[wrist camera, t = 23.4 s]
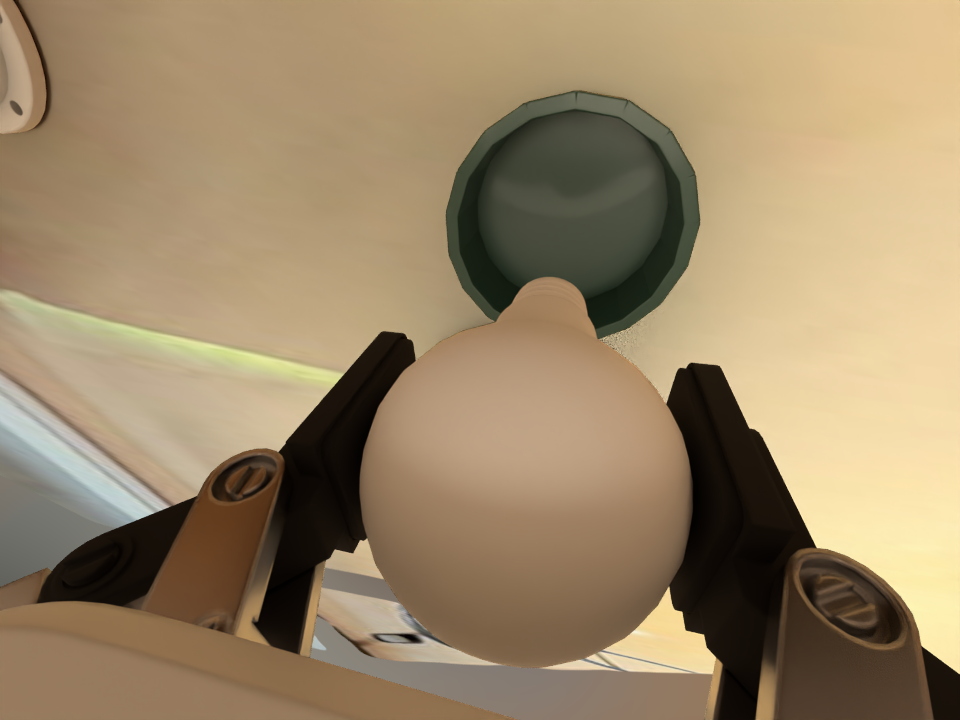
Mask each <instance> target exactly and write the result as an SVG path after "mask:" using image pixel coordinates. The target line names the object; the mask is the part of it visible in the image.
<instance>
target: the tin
mask: <svg viewBox="0 0 960 720" xmlns="http://www.w3.org/2000/svg"><path fill="white" fill-rule="evenodd" d="M446 226H447V240H448V253H449V257H450V259H451V261H452V264H453V266H454V269H455V271H456V273H457V276H458V278H459V281H460V283H461V285H462V288H463V289H464V290H465V292H466V293H467V294H468V295H469V296H470V297H471V298H472V300H473V301H474V302H475V303H476V304H477V305H478V306H479V308H480V309H481V310H482V311H483V312H484V313H485V315H486V316H487V317H489V318H490V319H492V320H494V321H495V322H496V321H497V319H498V317H499V316H500V315H501V313H502V312H503V311H504V310H505V309H506V308H507V307H509V306H510V305H511V304H512V302H513V300H514V298H515V297H516V295H517V294H518V292H519V291H520V290H521V289H522V287H523V286H525V285H526V284H527V283H529V282H531V281H533V280H535V279H538V278H542V277H557V278H560V279H564V280H566V281H568V282H570V283H571V284H573V285H574V286H575V287H576V288H577V289H578V290H579V291H580V292H581V294H582V296H583V298H584V300H585V304H586V309H587V315H588V317H589V318H590V320H591V322H592V324H593V326H594V328H595V332H596V335H597V339H600V338H603V337H605V336H608V335H611V334H614V333H617V332H620V331H622V330H625V329H627V328H629V327H631V326H632V325H633V324H635V323H636V322H637V321H639V320H640V319H642V318H643V317H644V316H646V315H647V314H648V313H650V312H651V311H652V310H654V309H655V308H656V307H658V306H659V305H660V304H661V303H662V302H663V301H664V299H665V298H666V297H667V295H668V294H669V292H670V291H671V290H672V288H673V287H674V285H675V284H676V283H677V281H678V280H679V278H680V277H681V276H682V274H683V273H684V271H685V270H686V268H687V267H688V264H689V260H690V257H691V254H692V250H693V247H694V243H695V240H696V236H697V233H698V229H699V226H700V213H699V203H698V192H697V182H696V175H695V171H694V170H693V168H692V166H691V164H690V163H689V161H688V159H687V157H686V155H685V154H684V152H683V150H682V148H681V147H680V145H679V143H678V141H677V139H676V138H675V136H674V134H673V132H672V131H671V130H670V129H669V128H668V127H667V126H665V125H664V124H662V123H661V122H660V121H658V120H657V119H655V118H654V117H653V116H651V115H650V114H648V113H647V112H645V111H644V110H643V109H641V108H640V107H638V106H637V105H636V104H634V103H633V102H631V101H630V100H627V99H624V98H620V97H614V96H609V95H603V94H598V93H592V92H587V91H581V90H580V91H571V92H567V93H563V94H558V95H554V96H550V97H546V98H541V99H537V100H533V101H529V102H527V103H524V104H522V105H521V106H519V107H518V108H517V109H515V110H514V111H512V112H511V113H510V114H508V115H507V116H505V117H504V118H502V119H501V120H500V121H498V122H497V123H495V124H494V125H492V126H491V127H490V128H488V129H487V130H485V131H484V133H483V134H482V135H481V137H480V138H479V139H478V141H477V142H476V144H475V145H474V147H473V148H472V150H471V151H470V153H469V154H468V155H467V157H466V158H465V160H464V161H463V163H462V164H461V166H460V167H459V169H458V171H457V172H456V176H455V180H454V184H453V187H452V191H451V195H450V199H449V202H448V206H447V210H446Z"/></svg>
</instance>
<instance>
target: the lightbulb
mask: <svg viewBox="0 0 960 720" xmlns="http://www.w3.org/2000/svg"><path fill="white" fill-rule="evenodd" d="M359 494H360V503H361V511H362V520H363V524H364V528H365V531H366V535H367V538H368V541H369V545H370V548H371V551H372V555H373V558H374V561H375V564H376V566H377V568H378V569H379V571H380V573H381V574H382V576H383V578H384V579H385V581H386V582H387V584H388V585H389V587H390V588H391V590H392V591H393V593H394V594H395V596H396V598H397V599H398V601H399V602H400V603H401V604H402V605H403V606H404V608H405V609H406V610H407V611H408V612H409V613H410V614H411V615H412V616H413V617H414V618H415V619H416V620H418V621H419V622H420V623H421V624H422V625H423V626H424V627H425V628H426V629H427V630H428V631H429V632H431V633H432V634H433V635H434V636H435V637H437V638H438V639H440V640H441V641H443V642H444V643H446V644H448V645H450V646H451V647H453V648H455V649H457V650H459V651H462V652H464V653H466V654H468V655H471V656H474V657H477V658H479V659H482V660H486V661H489V662H493V663H497V664H502V665H507V666H514V667H522V668H540V667H548V666H553V665H558V664H562V663H567V662H571V661H576V660H580V659H584V658H587V657H589V656H591V655H593V654H595V653H597V652H599V651H601V650H603V649H605V648H607V647H609V646H611V645H613V644H614V643H616V642H618V641H620V640H622V639H624V638H625V637H627V636H628V635H629V634H630V633H631V632H633V631H634V630H635V629H636V628H637V627H638V626H639V625H640V624H641V623H642V622H643V621H644V620H645V618H646V617H647V616H648V615H649V614H650V613H651V612H652V611H653V610H654V609H655V608H656V607H657V606H658V604H659V602H660V601H661V599H662V597H663V595H664V594H665V592H666V590H667V588H668V587H669V585H670V583H671V582H672V580H673V578H674V576H675V575H676V573H677V571H678V569H679V568H680V566H681V564H682V562H683V559H684V554H685V550H686V546H687V541H688V537H689V532H690V526H691V520H692V514H693V480H692V474H691V469H690V463H689V458H688V454H687V450H686V447H685V443H684V439H683V436H682V433H681V431H680V429H679V427H678V425H677V423H676V421H675V419H674V417H673V415H672V413H671V411H670V409H669V408H668V406H667V405H666V403H665V402H664V400H663V399H662V397H661V396H660V394H659V393H658V391H657V390H656V388H655V387H654V386H653V385H652V384H651V382H650V381H649V380H648V379H647V378H646V377H645V375H644V374H643V373H642V372H641V371H640V370H639V369H638V367H636V366H635V365H634V364H632V363H631V362H630V361H628V360H627V359H626V358H624V357H623V356H622V355H621V354H619V353H618V352H617V351H615V350H614V349H612V348H611V347H609V346H608V345H606V344H605V343H603V342H601V341H600V340H598V339H597V335H596V332H595V328H594V326H593V324H592V322H591V320H590V318H589V317H588V315H587V309H586V304H585V300H584V298H583V296H582V294H581V292H580V291H579V290H578V289H577V288H576V287H575V286H574V285H573V284H571V283H570V282H568V281H566V280H564V279H560V278H557V277H542V278H538V279H535V280H533V281H531V282H529V283H527V284H526V285H525V286H523V287H522V289H521V290H520V291H519V292H518V294H517V295H516V297H515V298H514V300H513V302H512V304H511V305H510V306H509V307H507V308H506V309H505V310H504V311H503V312H502V313H501V315H500V316H499V317H498V319H497V321H496V322H495V323H491V324H487V325H483V326H479V327H475V328H471V329H468V330H464V331H461V332H459V333H457V334H455V335H453V336H451V337H449V338H447V339H445V340H443V341H440V342H439V343H438V344H436V345H435V346H434V347H433V348H431V349H430V350H429V351H428V352H426V353H425V354H424V355H423V356H421V357H420V358H419V359H418V360H416V361H415V362H414V363H413V364H411V365H410V366H409V367H408V368H406V369H405V370H404V371H403V372H402V374H401V375H400V376H399V378H398V379H397V380H396V382H395V383H394V384H393V386H392V387H391V389H390V390H389V392H388V393H387V395H386V396H385V398H384V399H383V401H382V402H381V404H380V405H379V407H378V409H377V412H376V415H375V418H374V421H373V423H372V426H371V429H370V432H369V435H368V438H367V441H366V444H365V446H364V450H363V456H362V463H361V470H360V489H359Z"/></svg>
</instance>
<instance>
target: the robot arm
mask: <svg viewBox="0 0 960 720" xmlns="http://www.w3.org/2000/svg"><path fill="white" fill-rule="evenodd" d="M46 96H47V94H46V84H45V76H44V72H43V68H42V64H41V60H40V56H39V54H38V51H37V49H36V46H35V43H34V41H33V38H32V35H31V33H30V31H29V29H28V27H27V25H26V23H25V21H24V19H23V17H22V15H21V13H20V11H19V9H18V7H17V6H16V4H15V2H14V1H13V0H0V133H4V134H7V133H19V132H25V131H28V130H30V129H33V128H34V127H35V126H36V125H37V124H38V123H39V122H40V121H41V118H42V116H43V114H44V111H45V105H46ZM415 361H416V360H415V353H414V346H413V342H412V340H409V339H407V337H406V335H405V334H404V333H395V332H386V331H383V332H381V333H380V334H379V335H378V336H377V337H376V338H375V339H374V341H373V342H372V343H371V344H370V345H369V346H368V348H367V349H366V350H365V351H364V352H363V353H362V354H361V356H360V357H359V358H358V359H357V360H356V361H355V363H354V364H353V365H352V366H351V367H350V368H349V369H348V371H347V372H346V373H345V374H344V375H343V376H342V377H341V379H340V380H339V381H338V382H337V383H336V384H335V386H334V387H333V388H332V389H331V390H330V391H329V392H328V394H327V395H326V396H325V397H324V398H323V399H322V401H321V402H320V403H319V404H318V405H317V406H316V407H315V409H314V410H313V411H312V412H311V413H310V414H309V416H308V417H307V418H306V419H305V420H304V421H303V422H302V424H301V425H300V426H299V427H298V428H297V429H296V431H295V432H294V433H293V434H292V435H291V436H290V437H289V439H288V440H287V441H286V444H285V445H284V446H283V447H282V449H281V450H280V451H279V452H277V451H275V450H271V449H253V450H249V451H245V452H242V453H240V454H237V455H235V456H233V457H231V458H229V459H228V460H226V461H224V462H223V463H221V464H220V465H219V466H218V467H217V468H216V469H215V470H213V471H212V472H211V473H210V475H209V476H208V478H207V479H206V481H205V482H204V484H203V486H202V488H201V490H200V492H199V494H198V496H196V497H194V498H191V499H189V500H186V501H184V502H181V503H179V504H176V505H174V506H171V507H169V508H166V509H164V510H161V511H159V512H156V513H154V514H151V515H149V516H146V517H144V518H141V519H139V520H136V521H134V522H131V523H129V524H126V525H124V526H121V527H119V528H116V529H114V530H111V531H109V532H106V533H104V534H102V535H100V536H97V537H95V538H93V539H92V540H89V541H87V542H86V543H84V544H83V545H81V546H80V547H78V548H77V549H75V550H74V551H73V552H71V553H70V554H69V555H68V556H66V557H65V558H64V559H63V560H62V561H61V562H60V563H59V564H58V565H57V566H56V567H55V568H54V569H53V571H51V570H50V569H48V568H45V569H43V570H40V571H38V572H35V573H33V574H31V575H28V576H26V577H23V578H21V579H18V580H16V581H13V582H11V583H9V584H6V585H4V586H2V587H0V720H517V719H514V718H511V717H508V716H504V715H501V714H497V713H494V712H491V711H487V710H484V709H481V708H477V707H474V706H470V705H467V704H464V703H460V702H457V701H454V700H451V699H447V698H444V697H440V696H437V695H434V694H430V693H427V692H424V691H420V690H417V689H413V688H410V687H407V686H403V685H400V684H397V683H393V682H390V681H386V680H383V679H380V678H377V677H373V676H370V675H366V674H363V673H360V672H356V671H353V670H350V669H346V668H343V667H339V666H336V665H332V664H329V663H326V662H322V661H319V660H315V659H312V658H310V655H311V649H312V643H313V636H314V630H315V624H316V618H317V612H318V606H319V599H320V593H321V587H322V581H323V574H324V568H325V562H326V560H327V559H329V558H330V557H331V555H332V553H333V551H334V550H335V549H336V550H340V551H345V552H349V553H354V551H355V549H356V547H357V545H358V543H359V541H360V540H363V541H364V540H366V539H367V535H366V531H365V528H364V524H363V520H362V511H361V503H360V494H359V489H360V470H361V463H362V456H363V450H364V446H365V444H366V441H367V438H368V435H369V432H370V429H371V426H372V423H373V421H374V418H375V415H376V412H377V409H378V407H379V405H380V404H381V402H382V401H383V399H384V398H385V396H386V395H387V393H388V392H389V390H390V389H391V387H392V386H393V384H394V383H395V382H396V380H397V379H398V378H399V376H400V375H401V374H402V372H403V371H404V370H405V369H406V368H408V367H409V366H410V365H411V364H413V363H414V362H415ZM666 405H667V406H668V408H669V409H670V411H671V413H672V415H673V417H674V419H675V421H676V423H677V425H678V427H679V429H680V431H681V433H682V436H683V439H684V443H685V447H686V450H687V454H688V458H689V463H690V469H691V474H692V480H693V514H692V520H691V526H690V532H689V537H688V541H687V546H686V550H685V554H684V559H683V562H682V564H681V566H680V568H679V569H678V571H677V573H676V575H675V576H674V578H673V580H672V582H671V583H670V585H669V587H670V594H671V600H672V604H673V607H674V609H675V610H677V611H682V612H683V618H684V624H685V629H686V631H691V632H695V633H699V634H704V636H705V641H706V646H707V648H708V649H709V650H710V651H711V652H712V653H713V654H714V656H715V657H716V661H715V666H714V672H713V677H712V682H711V687H710V692H709V698H708V703H707V708H706V714H705V719H704V720H960V674H958V673H957V672H956V671H954V670H953V669H952V668H950V667H949V666H948V665H946V664H945V663H944V662H942V661H941V660H939V659H938V658H937V657H935V656H934V655H933V654H931V653H930V652H929V651H927V650H926V649H925V648H923V647H922V646H921V642H920V636H919V631H918V628H917V625H916V622H915V620H914V617H913V614H912V613H911V611H910V610H909V608H908V607H907V605H906V604H905V602H904V601H903V599H902V598H901V597H900V596H899V595H898V594H897V592H896V591H895V590H894V589H893V588H892V587H891V586H890V585H889V584H888V583H887V582H886V581H885V580H883V579H882V578H881V577H879V576H878V575H877V574H875V573H874V572H873V571H871V570H870V569H869V568H867V567H866V566H864V565H862V564H861V563H859V562H857V561H855V560H853V559H851V558H850V557H848V556H845V555H843V554H840V553H837V552H834V551H831V550H828V549H820V548H816V546H815V544H814V542H813V540H812V538H811V535H810V533H809V531H808V529H807V527H806V525H805V523H804V521H803V519H802V517H801V515H800V513H799V511H798V509H797V507H796V505H795V503H794V501H793V499H792V497H791V495H790V493H789V491H788V489H787V487H786V485H785V483H784V481H783V478H782V476H781V474H780V472H779V470H778V468H777V466H776V464H775V462H774V460H773V458H772V456H771V454H770V452H769V450H768V448H767V446H766V444H765V442H764V440H763V438H762V436H761V435H760V433H759V432H757V431H756V430H754V429H749V427H748V425H747V423H746V420H745V418H744V416H743V414H742V412H741V410H740V408H739V405H738V403H737V401H736V399H735V397H734V395H733V393H732V390H731V388H730V386H729V384H728V382H727V380H726V378H725V375H724V373H723V371H722V369H721V368H720V366H718V365H708V364H699V363H690V364H689V365H688V366H687V368H686V369H685V368H679V369H678V371H677V373H676V376H675V379H674V382H673V385H672V388H671V392H670V395H669V398H668V401H667V404H666Z"/></svg>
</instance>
